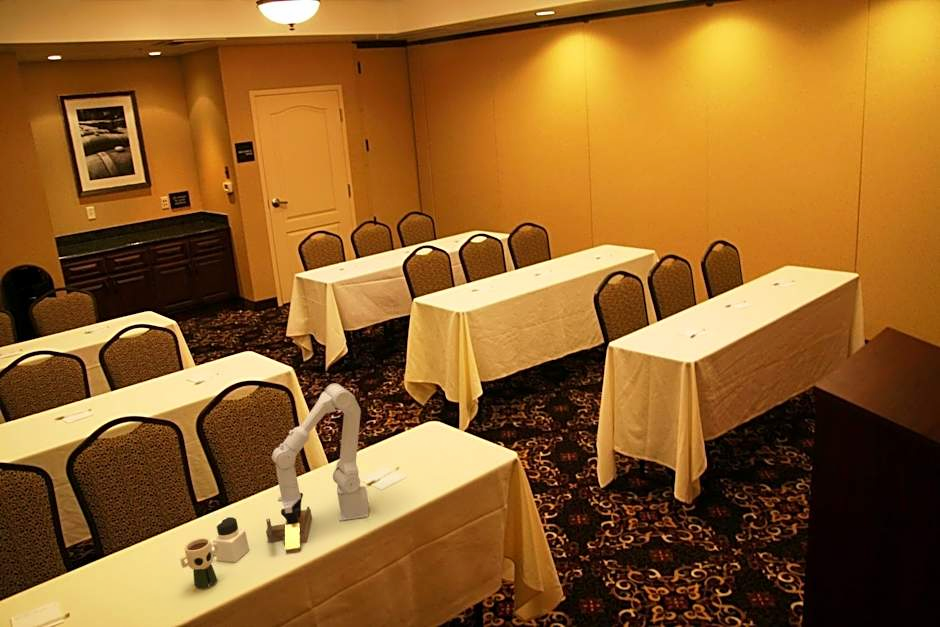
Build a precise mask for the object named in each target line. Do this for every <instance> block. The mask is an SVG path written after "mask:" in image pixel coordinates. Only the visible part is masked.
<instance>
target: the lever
mask: <svg viewBox="0 0 940 627" xmlns="http://www.w3.org/2000/svg"><path fill="white" fill-rule="evenodd" d="M265 520H266V528H267V527H268V533H269V539H270V544H272V543H274V541H273V534H272V527H271V526H272V522H271V518H266V519H265Z"/></svg>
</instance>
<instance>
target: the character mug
mask: <svg viewBox="0 0 940 627" xmlns="http://www.w3.org/2000/svg"><path fill="white" fill-rule="evenodd" d="M213 548H215V549H214V550H213ZM217 552H218V546H217V543H216V542H214V543H213V542H211V540H210V538H206V537H201V538H196V539H193V540H190V541H188V542H187V544H186V545H185V546H184V553H185V555H184V556H181V557H180V565H181V567H182V568H183V569H184V568H186V567H189V569H191V570H193V583H194V586H195V588H197V589H199V590H200V589H203V590H204V589H209V587H210V586H209V585H210V584H211V586H213V585H215V583H217V581H218V578H217V575H216V572H215V570H214V567H213V564H212V563H213V562H214V559H215V557H214V555H216V553H217ZM185 560H186V561H187V562H185Z"/></svg>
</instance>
